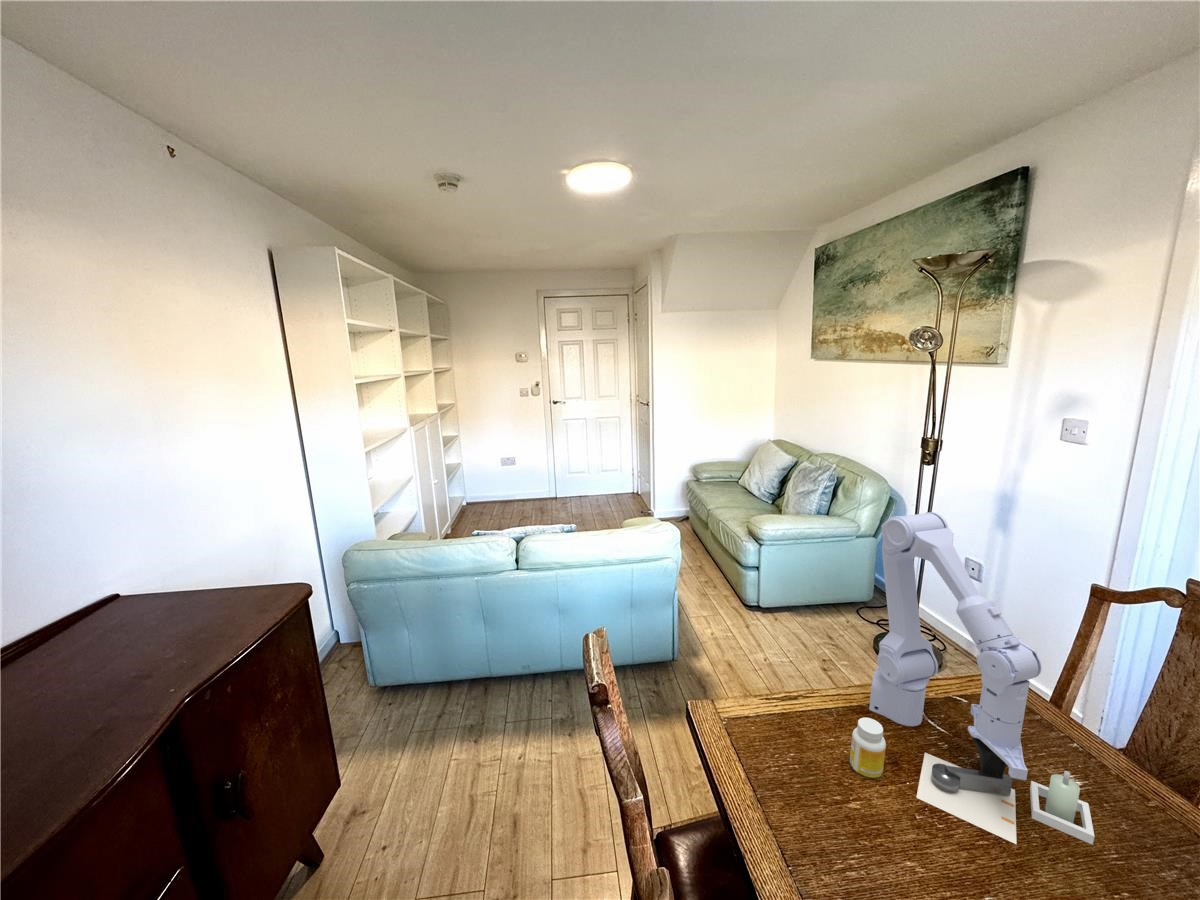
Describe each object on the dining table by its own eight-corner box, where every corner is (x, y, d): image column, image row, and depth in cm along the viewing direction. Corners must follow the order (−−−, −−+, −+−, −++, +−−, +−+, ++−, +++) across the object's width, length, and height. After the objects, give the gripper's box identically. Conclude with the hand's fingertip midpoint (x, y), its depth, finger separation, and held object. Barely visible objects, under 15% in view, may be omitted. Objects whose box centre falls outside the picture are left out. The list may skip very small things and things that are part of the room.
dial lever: (936, 790, 83) (938, 775, 82) (927, 771, 87) (928, 757, 86) (1015, 803, 80) (1017, 787, 80) (1001, 782, 84) (1003, 768, 84)
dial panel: (915, 802, 82) (916, 796, 82) (924, 756, 91) (924, 751, 91) (1015, 849, 74) (1016, 843, 74) (1014, 794, 83) (1015, 789, 83)
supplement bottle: (842, 763, 90) (846, 718, 89) (864, 755, 92) (868, 710, 90) (867, 787, 85) (871, 740, 84) (889, 777, 87) (894, 731, 85)
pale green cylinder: (1045, 821, 79) (1053, 774, 77) (1043, 806, 81) (1051, 760, 79) (1074, 833, 76) (1083, 785, 75) (1071, 817, 79) (1080, 770, 77)
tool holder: (1030, 823, 78) (1033, 810, 78) (1029, 792, 84) (1031, 780, 83) (1091, 849, 74) (1094, 836, 73) (1085, 816, 79) (1088, 803, 79)
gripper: (955, 679, 89) (946, 743, 92) (993, 739, 75) (982, 812, 78) (1000, 686, 87) (990, 750, 90) (1048, 748, 73) (1035, 822, 76)
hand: (990, 779), depth 84 cm, fingers closed, pressing on dial lever
